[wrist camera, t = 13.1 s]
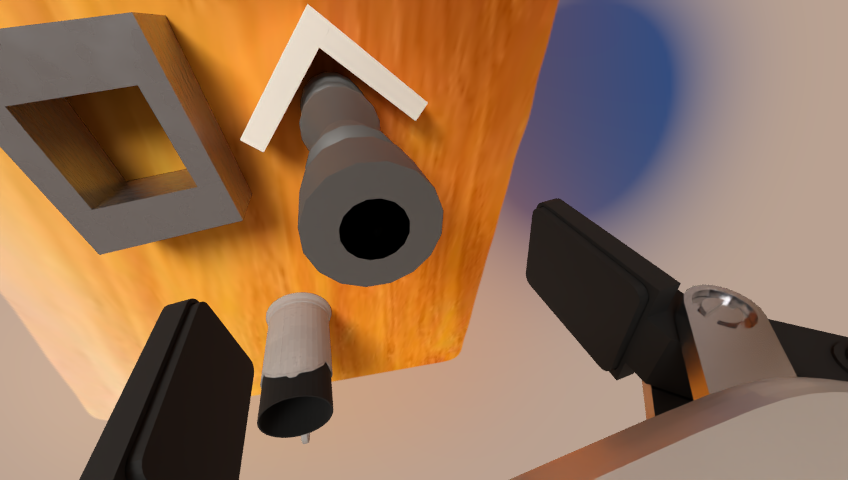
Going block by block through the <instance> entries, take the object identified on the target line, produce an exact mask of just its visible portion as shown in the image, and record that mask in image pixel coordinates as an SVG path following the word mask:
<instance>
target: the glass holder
mask: <svg viewBox="0 0 848 480" xmlns="http://www.w3.org/2000/svg"><path fill="white" fill-rule="evenodd" d="M330 318H331V307H330V305H329V304H328V302H327V301H326V300H324V299H323V298H322V297H320V296H318V295H315V294H311V293H293V294H288V295H285V296H283V297H281V298H279V299H277V300H276V301H275V302H273V303H272V304H271V306H270V307H269V308H268V311H267V314H266V321H267V324H268V333H267V340H266V348H265V355H264V362H263V370H262V377H261V384H260V385H261V389H262V390H261V398H260V406H259V413H258V421H257V425H258V428H259V429H260V430H261V431H262V432H263V433H265V434H266V435H269V436H273V437H281V438H288V437H296V436H301V439H302V443H303V444H306V443H308V442H309V439H310V432H312V431H315V430H317V429H319V428H320V427H322V426H323V425H324V424H325V423H327V422H328V420H329V419H330V418H331V416H332V414H333V400H332V384H331V377H332V361H331V346H330V332H329V321H330Z"/></svg>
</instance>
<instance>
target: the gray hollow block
mask: <svg viewBox="0 0 848 480" xmlns="http://www.w3.org/2000/svg"><path fill="white" fill-rule="evenodd" d="M136 85H138V87H139V88H140V90H141V92H142V94H143V95H144V97H145V99H146V100H147V102H148V104H149V105H150V107H151V109H152V111H153V112H154V114H155V116H156V117H157V119H158V121H159V122H160V124H161V126H162V127H163V129H164V131H165V133H166V134H167V136H168V138H169V139H170V141H171V143H172V144H173V146H174V148H175V150H176V151H177V153H178V155H179V156H180V158H181V160H182V161H183V163H184V165H185V166H186V168H187V169H185V170H180V171H175V172H170V173H165V174H160V175H156V176H151V177H146V178H141V179H136V180H131V181H127V182H126V181H125V180H124V178H123V177H122V175H121V174H120V173H119V171H118V170H117V169H116V167H115V166H114V164H113V163H112V162H111V160H110V159H109V158H108V156H107V155H106V153H105V152H104V151H103V149H102V148H101V147H100V145H99V144H98V142H97V141H96V140H95V138H94V137H93V136H92V134H91V133H90V131H89V130H88V129H87V127H86V126H85V125H84V123H83V122H82V120H81V119H80V118H79V116H78V115H77V114H76V112H75V111H74V109H73V108H72V107H71V105H70V104H69V103H68V101H67V100H66V98H65V97H67V96H73V95H80V94H86V93H92V92H98V91H105V90H111V89H117V88H123V87H130V86H136ZM0 147H1V148H2V149H3V150H4V151H5V152H6V153H7V154H8V156H9V157H10V158H11V159H12V160H13V161H14V162H15V163H16V164H17V165H18V166H19V168H20V169H21V170H22V171H23V172H24V173H25V174H26V175H27V176H28V177H29V178H30V180H31V181H32V182H33V183H34V184H35V185H36V186H37V187H38V188H39V189H40V191H41V192H42V193H43V194H44V195H45V196H46V197H47V198H48V199H49V200H50V201H51V203H52V204H53V205H54V206H55V207H56V208H57V209H58V210H59V211H60V212H61V213H62V215H63V216H64V217H65V218H66V219H67V220H68V221H69V222H70V223H71V224H72V225H73V227H74V228H75V229H76V230H77V231H78V232H79V233H80V234H81V235H82V236H83V237H84V239H85V240H86V241H87V242H88V243H89V244H90V245H91V246H92V247H93V248H94V249H95V251H96V252H97V253H98V254H99V255H101V254H105V253H109V252H113V251H117V250H122V249H126V248H130V247H134V246H138V245H143V244H147V243H151V242H155V241H159V240H163V239H168V238H172V237H176V236H180V235H184V234H188V233H193V232H197V231H201V230H205V229H209V228H213V227H218V226H222V225H226V224H230V223H234V222H239V221H243V219H244V216H245V213H246V210H247V207H248V204H249V202H250V199H251V196H252V193H251V191H250V189H249V187H248V185H247V183H246V180H245V178H244V176H243V174H242V172H241V170H240V168H239V166H238V164H237V162H236V160H235V158H234V156H233V154H232V152H231V150H230V148H229V145H228V143H227V141H226V139H225V137H224V135H223V133H222V131H221V129H220V127H219V125H218V123H217V121H216V119H215V117H214V115H213V113H212V110H211V108H210V106H209V104H208V102H207V100H206V98H205V96H204V94H203V92H202V90H201V88H200V86H199V84H198V82H197V80H196V78H195V75H194V73H193V71H192V69H191V67H190V65H189V63H188V61H187V59H186V57H185V55H184V53H183V51H182V49H181V47H180V45H179V43H178V40H177V38H176V36H175V34H174V32H173V30H172V28H171V26H170V24H169V22H168V20H167V18H166V16H164V15H153V14H143V13H133V12H131V13H123V14H115V15H107V16H99V17H91V18H83V19H75V20H67V21H59V22H51V23H43V24H34V25H26V26H18V27H10V28H2V29H0Z"/></svg>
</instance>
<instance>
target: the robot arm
mask: <svg viewBox="0 0 848 480" xmlns="http://www.w3.org/2000/svg"><path fill="white" fill-rule="evenodd" d="M526 278H527V281H528V282H529V284H530V285H531V287H532V288H533V289H534V290H535V291H536V292H537V294H538V295H539V296H540V297H541V298H542V300H543V301H544V302H545V303H546V304H547V305H548V307H549V308H550V309H551V310H552V311H553V312H554V314H555V315H556V316H557V317H558V318H559V319H560V321H561V322H562V323H563V324H564V325H565V326H566V328H567V329H568V330H569V331H570V332H571V333H572V335H573V336H574V337H575V338H576V339H577V341H578V342H579V343H580V344H581V345H582V347H583V348H584V349H585V350H586V351H587V352H588V354H589V355H590V356H591V357H592V358H593V360H594V361H595V362H596V363H597V364H598V365H599V366H600V367H601V368H602V369H603V370H605V371H609V372H610V373H611V374H612V375H613V377H614V378H615V379H616V380H619V379H621V378H624V377H626V376H629V375H631V374H633V373H634V372H635V373H636V374H637V375H638V376H639V377H640V378H641V379H642V384H643V393H644V401H645V410H646V418H647V420H645V421H643V422H641V423H638V424H636V425H634V426H632V427H629V428H627V429H625V430H622V431H620V432H618V433H616V434H613V435H611V436H608V437H606V438H604V439H602V440H599V441H597V442H595V443H592V444H590V445H588V446H585V447H583V448H581V449H579V450H576V451H574V452H572V453H569V454H567V455H565V456H563V457H560V458H558V459H555V460H553V461H551V462H549V463H546V464H544V465H542V466H539V467H537V468H535V469H533V470H530V471H528V472H526V473H524V474H521V475H519V476H517V477H514V478H512V479H510V480H848V337H844V336H840V335H836V334H831V333H827V332H822V331H818V330H814V329H809V328H805V327H800V326H796V325H792V324H787V323H783V322H779V321H774V320H770V319H768V318H767V316H766V315H765V314H764V312H763V311H762V310H761V308H760V307H759V306H757V305H756V304H755V303H754V302H752V301H751V300H750V299H748V298H746V297H745V296H742V295H741V294H739V293H737V292H734V291H732V290H729V289H727V288H722V287H718V286H713V285H698V286H693V287H691V288H689V289H687V290H686V292H685V293H684V294H683V293H682V292H680V291H679V290H678V288H679V285H680V283H679V282H678V281H677V280H675V279H674V278H672V277H671V276H669V275H668V274H667V273H665V272H664V271H662V270H661V269H659V268H658V267H657V266H655V265H654V264H652V263H651V262H649V261H648V260H647V259H645V258H644V257H642V256H641V255H639V254H638V253H637V252H635V251H634V250H632V249H631V248H629V247H628V246H627V245H625V244H624V243H622V242H621V241H620V240H618V239H617V238H615V237H614V236H612V235H611V234H610V233H608V232H607V231H605V230H604V229H602V228H601V227H599V226H598V225H597V224H595V223H594V222H592V221H591V220H589V219H588V218H587V217H585V216H584V215H582V214H581V213H580V212H578V211H577V210H575V209H574V208H572V207H571V206H569V205H568V204H567V203H565V202H564V201H562V200H561V199H553V200H549V201H545V202H542V203H539V204H538V206H537V209H535V210H534V211H533V215H532V224H531V233H530V242H529V252H528V259H527V268H526ZM253 377H254V367H253V364H252V361H251V360H250V358H249V357H248V356H247V355H246V353H245V352H244V351H243V349H242V348H241V347H240V345H239V344H238V343H237V342H236V340H235V339H234V338H233V336H232V335H231V334H230V332H229V331H228V330H227V329H226V327H225V326H224V325H223V323H222V322H221V321H220V319H219V318H218V317H217V316H216V314H215V313H214V312H213V310H212V309H211V308H210V307H209V305H208V304H207V303H206V302H199V301H198V300H196V299H188V300H185V301H181V302H178V303H174V304H170V305H167V306H166V307H164V309H163V310H162V312H161V314H160V316H159V318H158V320H157V322H156V324H155V326H154V328H153V330H152V332H151V334H150V337H149V339H148V341H147V343H146V345H145V347H144V349H143V351H142V353H141V355H140V357H139V359H138V361H137V363H136V365H135V367H134V369H133V371H132V373H131V375H130V377H129V379H128V381H127V383H126V386H125V388H124V390H123V392H122V394H121V396H120V398H119V400H118V402H117V404H116V406H115V408H114V410H113V412H112V414H111V416H110V418H109V420H108V422H107V424H106V427H105V428H104V431H103V433H102V435H101V437H100V439H99V441H98V443H97V445H96V447H95V449H94V451H93V453H92V455H91V457H90V459H89V461H88V463H87V465H86V467H85V469H84V471H83V473H82V475H81V477H80V480H239V474H240V467H241V460H242V453H243V446H244V439H245V432H246V425H247V417H248V411H249V404H250V397H251V391H252V384H253Z"/></svg>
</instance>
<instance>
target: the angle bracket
mask: <svg viewBox="0 0 848 480" xmlns="http://www.w3.org/2000/svg"><path fill="white" fill-rule="evenodd" d="M319 48H320V49H322V50H323V51H324V52H326V53H327V54H328V55H330V56H331V57H332V58H333V59H335V60H336V61H337V62H339V63H340V64H341V65H343V66H344V67H345V68H347V69H348V70H349V71H351V72H352V73H353V74H354V75H356V76H357V77H358V78H360V79H361V80H362V81H364V82H365V83H366V84H368V85H369V86H370V87H372V88H373V89H374V90H375V91H377V92H378V93H379V94H381V95H382V96H383V97H385V98H386V99H387V100H389V101H390V102H391V103H393V104H394V105H395V106H396V107H398V108H399V109H400V110H402V111H403V112H404V113H406V114H407V115H408V116H410V117H411V118H412V119H414V120H415V121H416V120H417V118H418V117H419V115H420V114H421V113H422V111H423V110H424V108H425V107H426V105H427V104H428V103H427V102H426V101H425V100H424V99H423V98H421V97H420V96H419V95H418V94H417V93H415V92H414V91H413V90H412V89H410V88H409V87H408V86H407V85H406V84H404V83H403V82H402V81H401V80H400V79H398V78H397V77H396V76H395V75H393V74H392V73H391V72H390V71H389V70H387V69H386V68H385V67H384V66H383V65H381V64H380V63H379V62H378V61H376V60H375V59H374V58H373V57H372V56H370V55H369V54H368V53H367V52H366V51H364V50H363V49H362V48H361V47H360V46H358V45H357V44H356V43H355V42H353V41H352V40H351V39H350V38H349V37H347V36H346V35H345V34H344V33H343V32H341V31H340V30H339V29H338V28H336V27H335V26H334V25H333V24H331V23H330V22H329V21H328V20H327V19H325V18H324V17H323V16H322V15H321V14H319V13H318V12H317V11H316V10H314V9H313V8H312V7H311V6H310V5H308V4H307V6H306V8H305V10H304V12H303V14H302V16H301V18H300V20H299V22H298V24H297V26H296V28H295V30H294V32H293V34H292V36H291V38H290V40H289V42H288V44H287V46H286V48H285V50H284V52H283V54H282V56H281V58H280V60H279V62H278V64H277V66H276V68H275V70H274V72H273V74H272V76H271V78H270V80H269V82H268V84H267V86H266V88H265V90H264V92H263V94H262V96H261V98H260V100H259V102H258V104H257V106H256V108H255V110H254V112H253V114H252V116H251V118H250V120H249V122H248V124H247V126H246V128H245V130H244V132H243V134H242V137H241V139H240V140H241V141H243V142H244V143H246V144H248V145H250V146H252V147H254V148H256V149H258V150H260V151H262V152H264V151H265V149H266V147H267V145H268V143H269V142H270V140H271V138H272V136H273V134H274V132H275V130H276V128H277V126H278V125H279V123H280V121H281V119H282V117H283V115H284V113H285V111H286V109H287V108H288V106H289V104H290V102H291V100H292V98H293V96H294V94H295V93H296V91H297V89H298V87H299V85H300V83H301V81H302V79H303V77H304V76H305V74H306V72H307V70H308V68H309V66H310V64H311V62H312V60H313V59H314V57H315V55H316V53H317V51H318V49H319Z"/></svg>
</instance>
